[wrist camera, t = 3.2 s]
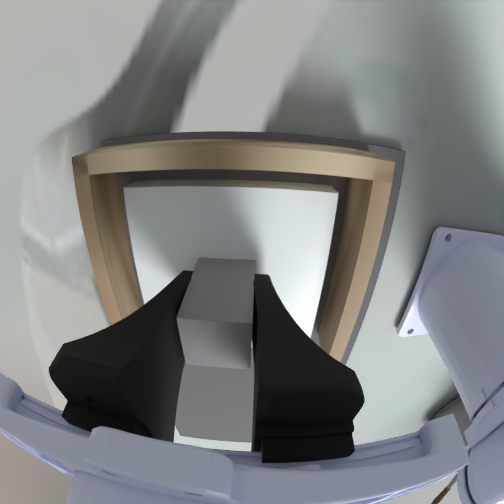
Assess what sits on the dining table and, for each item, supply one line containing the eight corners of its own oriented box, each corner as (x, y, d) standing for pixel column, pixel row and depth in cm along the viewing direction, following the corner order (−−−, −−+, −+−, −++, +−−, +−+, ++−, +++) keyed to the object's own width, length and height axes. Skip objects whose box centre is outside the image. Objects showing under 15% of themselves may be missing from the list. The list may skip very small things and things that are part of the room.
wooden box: (366, 149, 11) (395, 162, 8) (329, 329, 16) (338, 366, 14) (107, 145, 11) (71, 157, 8) (138, 318, 16) (122, 352, 14)
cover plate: (331, 185, 12) (374, 235, 7) (305, 333, 16) (316, 407, 11) (134, 180, 12) (70, 225, 7) (159, 325, 16) (133, 393, 11)
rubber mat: (401, 150, 11) (405, 151, 10) (306, 438, 25) (306, 441, 25) (105, 139, 11) (101, 140, 11) (181, 432, 25) (180, 435, 25)
